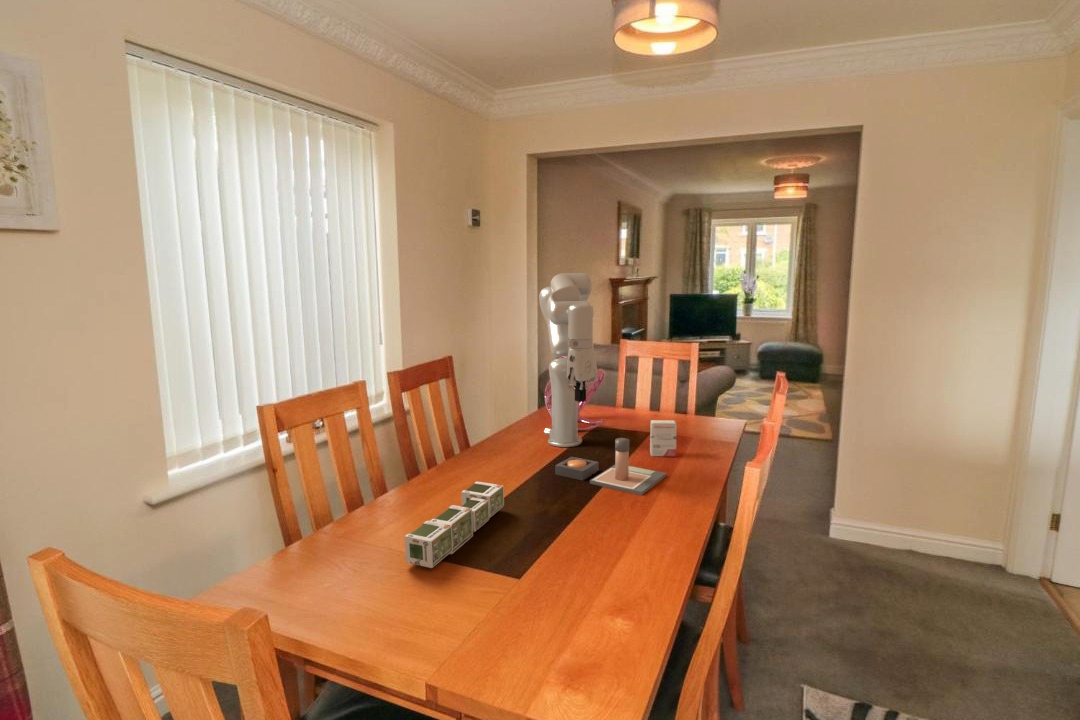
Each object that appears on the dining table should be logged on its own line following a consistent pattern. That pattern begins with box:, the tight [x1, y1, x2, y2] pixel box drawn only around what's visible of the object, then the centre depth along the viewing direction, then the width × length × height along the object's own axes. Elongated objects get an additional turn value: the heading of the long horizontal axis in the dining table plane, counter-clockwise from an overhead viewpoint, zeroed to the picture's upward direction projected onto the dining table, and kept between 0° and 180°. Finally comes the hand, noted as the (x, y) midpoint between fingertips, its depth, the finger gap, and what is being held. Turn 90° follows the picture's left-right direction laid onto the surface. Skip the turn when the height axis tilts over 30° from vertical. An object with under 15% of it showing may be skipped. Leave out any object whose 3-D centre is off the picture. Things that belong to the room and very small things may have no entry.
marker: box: [614, 437, 630, 481], centre depth 179 cm, size 4×4×12 cm
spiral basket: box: [544, 368, 606, 432], centre depth 238 cm, size 28×28×27 cm
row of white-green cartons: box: [404, 481, 505, 569], centre depth 145 cm, size 35×8×7 cm, turn 157°
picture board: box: [589, 464, 667, 496], centre depth 181 cm, size 17×18×1 cm
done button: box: [568, 460, 587, 469], centre depth 188 cm, size 6×6×2 cm
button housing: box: [554, 456, 600, 481], centre depth 188 cm, size 10×10×3 cm
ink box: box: [649, 419, 678, 457], centre depth 204 cm, size 9×5×12 cm, turn 84°
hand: (580, 400), depth 188 cm, fingers closed
